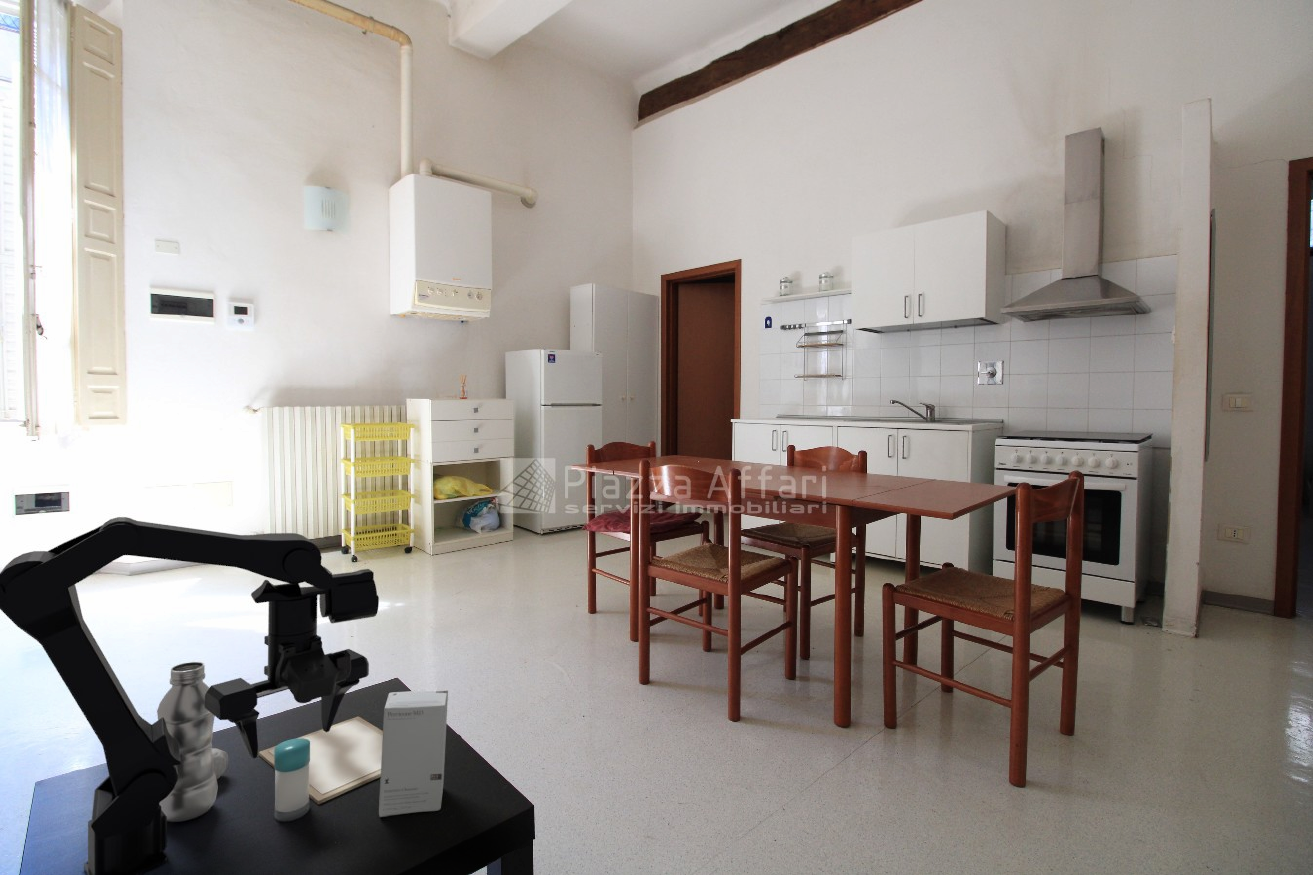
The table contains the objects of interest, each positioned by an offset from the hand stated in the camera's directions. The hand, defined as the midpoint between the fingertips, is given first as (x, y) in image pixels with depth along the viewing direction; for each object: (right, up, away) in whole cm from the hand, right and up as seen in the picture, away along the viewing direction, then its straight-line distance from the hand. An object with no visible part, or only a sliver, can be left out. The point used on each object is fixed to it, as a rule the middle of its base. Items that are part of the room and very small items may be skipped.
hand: (291, 743), depth 87 cm
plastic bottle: (-14, -9, -1) cm, 16 cm away
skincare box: (+15, -10, +3) cm, 19 cm away
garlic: (-17, -9, +7) cm, 20 cm away
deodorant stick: (0, -9, 0) cm, 10 cm away
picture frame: (0, -9, +15) cm, 17 cm away
